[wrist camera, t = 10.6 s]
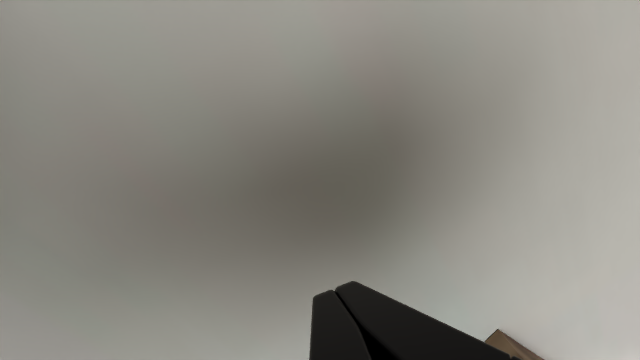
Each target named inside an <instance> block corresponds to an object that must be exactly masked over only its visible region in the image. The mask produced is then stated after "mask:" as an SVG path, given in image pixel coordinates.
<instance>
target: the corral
mask: <svg viewBox="0 0 640 360" xmlns="http://www.w3.org/2000/svg"><path fill="white" fill-rule="evenodd" d="M485 342H486V343H487V344H489V345H491V346H493V347H495V348H498V349H500V350H502V351H504V352H506V353H508V354H510V357H512V356H516V357H518V358H520V359H522V360H543V359H542V358H540V357H539V356H537V355H536V354H534V353H533V352H531V351H530V350H528V349H527V348H525V347H524V346H522V345H521V344H519V343H518V342H516V341H515V340H513V339H512V338H510V337H509V336H507V335H506V334H504V333H503V332H501V331H500V330H497V331H496V332H495V333H494V334H493V335H492V336H491V337H489V338H488V339H487V340H486V341H485Z"/></svg>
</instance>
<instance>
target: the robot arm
mask: <svg viewBox="0 0 640 360" xmlns="http://www.w3.org/2000/svg"><path fill="white" fill-rule="evenodd" d="M309 360H522V359H520V358H518V357H516V356H512V357H510V354H508V353H506V352H504V351H502V350H500V349H498V348H495V347H493V346H491V345H489V344H487V343H485V342H483V341H481V340H479V339H476V338H474V337H472V336H470V335H468V334H466V333H464V332H462V331H459V330H457V329H455V328H453V327H451V326H449V325H447V324H445V323H443V322H440V321H438V320H436V319H434V318H432V317H430V316H428V315H426V314H424V313H421V312H419V311H417V310H415V309H413V308H411V307H409V306H407V305H404V304H402V303H400V302H398V301H396V300H394V299H392V298H390V297H388V296H385V295H383V294H381V293H379V292H377V291H375V290H373V289H371V288H369V287H366V286H364V285H362V284H360V283H358V282H355V281H351V282H348V283H346V284H343V285H341V286H338V287H336V289H335V291H333V290H328V291H326V292H323V293H321V294H318V295H316V296H314V298H313V305H312V322H311V339H310V357H309Z"/></svg>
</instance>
